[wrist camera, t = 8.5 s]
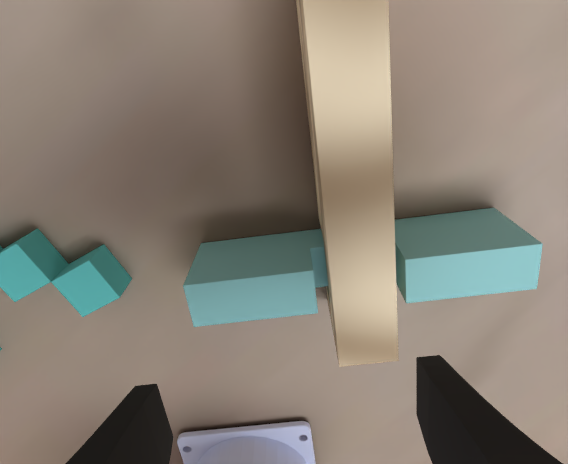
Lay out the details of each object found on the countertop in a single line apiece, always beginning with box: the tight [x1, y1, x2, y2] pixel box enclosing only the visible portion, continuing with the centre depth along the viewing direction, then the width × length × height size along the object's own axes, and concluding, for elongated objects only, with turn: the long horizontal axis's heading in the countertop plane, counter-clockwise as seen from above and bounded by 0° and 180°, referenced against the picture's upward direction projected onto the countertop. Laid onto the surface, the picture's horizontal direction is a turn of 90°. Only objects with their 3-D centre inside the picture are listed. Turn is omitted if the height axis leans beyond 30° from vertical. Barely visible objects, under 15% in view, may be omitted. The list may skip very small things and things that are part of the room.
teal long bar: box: [183, 208, 542, 327], centre depth 19 cm, size 2×14×4 cm, turn 98°
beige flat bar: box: [296, 0, 398, 367], centre depth 17 cm, size 14×2×5 cm, turn 7°
